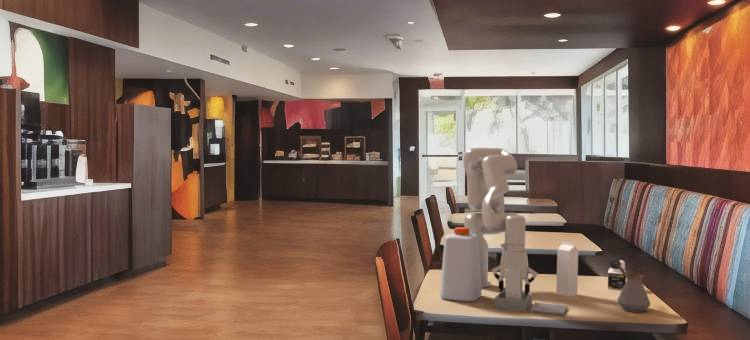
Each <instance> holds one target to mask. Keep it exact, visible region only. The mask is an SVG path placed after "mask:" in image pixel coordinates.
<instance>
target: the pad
mask: <svg viewBox="0 0 750 340" xmlns="http://www.w3.org/2000/svg"><path fill="white" fill-rule="evenodd" d="M567 309H568V305H560V304H553V303H552V304H551V303H545V302H544V303H543V302H534V303H533V304H532V305H531V306H530V307H529V309H528V310H529V311H528V312H529V313H534V314H540V315H541V314H542V315H543V314H544V315H550V316H559V317H564V315H565V314H566V311H567Z"/></svg>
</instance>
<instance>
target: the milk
mask: <svg viewBox="0 0 750 340" xmlns="http://www.w3.org/2000/svg"><path fill="white" fill-rule="evenodd" d="M556 252H557V253H556V256H557V258H556V291H555V292H556V295H558V296H563V297H566V298H570V297H574V296H577V295H578V280H579V279H578V273H579V272H578V271H579V249H578V248H577V247H576V246H575V242H573V241H566V240H562V241H561V245H559V247H558V248H557V251H556Z"/></svg>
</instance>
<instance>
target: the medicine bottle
mask: <svg viewBox="0 0 750 340" xmlns="http://www.w3.org/2000/svg"><path fill="white" fill-rule="evenodd" d="M616 262H618V263H619V264H620V265H621V267H622V268H623V269H624V271H625V273H626V274H627V271H626V269H625V268H626V262H625V261H624V260H621V259H611V260H610V261H609V269H608V272H607V289H609V290H610V289H612V290H618V291H619V290H620V291H622V289H623V287H624V285H625V283H626V281H627V278H626V277H625V276H624V274H623V273H622V272H621V271H620V269H619V267H615V266H618V265H617V264H615V263H616ZM614 264H615V265H614Z"/></svg>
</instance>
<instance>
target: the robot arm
mask: <svg viewBox="0 0 750 340" xmlns="http://www.w3.org/2000/svg"><path fill="white" fill-rule="evenodd" d="M463 167H464V171H465V175H466V183H467V184H466V186H467V187H466V191H467V192H466V194H467V196H466V197H467V200H466V201H467V205H468V208H470V209H471V210H476V211H477V210H480V211H481V212H473V213H472V212H471V213H469V214H466V216H465V218H464V221H463V222H464V223H463V224H464V226H463V227H466V228H469V234H475V235H477V236H478V238H479V256H480V275H481V289H484V288H489V287H491V286H492V282H491V281H489V279H488V276H489V273H488V272H489V271H488V270H489V244H488V241H487V240H486V239H485V237H484V235H499V234H502V233H504V243H501V244H500V248H503V249H504V250H502V251H501V252H502V253H501V258H500V265H498V266H496V267H494V268H492V269H491V272H492V274H493V277H495V279H496V280H497V282H498V290H499V293H500V292H502V291H505V290H504V285H505V282H504V281H505V280H504V278H505V270H506V269H520V270H521V279H522V280H523V281H524V283H525V284H524V293H525V295H527V294H528V293H530V285H531V283H532V282H533V281H535V279H536V277H538V272H537V271H535V270H534V269H532V268H531V267H529V259H528V253H527V251H526V218H525V216H524V215H519V214H518V213H515V212H505V196H504V195H505V194H506V193H508V191H509V183H508V179H507V176H514V175H515V174H516V173H517V171H518V164H517V160H516V158H515V157H514V156H513V154H511V153H510V152H508V151H507V150H505V149H504V148H498V147H475V148H473V147H472V148H469V149H467V150H466V151H465V153H464V155H463ZM498 271H499V273H498ZM529 273H530V274H531V277H530V278H529V277H528V276H529Z"/></svg>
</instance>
